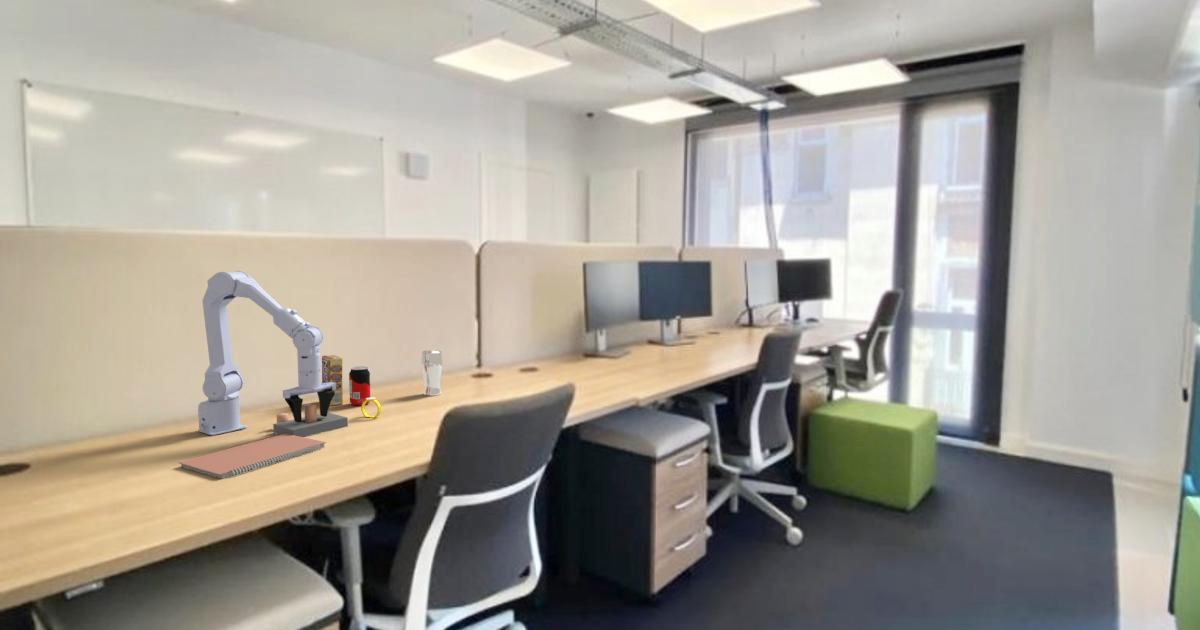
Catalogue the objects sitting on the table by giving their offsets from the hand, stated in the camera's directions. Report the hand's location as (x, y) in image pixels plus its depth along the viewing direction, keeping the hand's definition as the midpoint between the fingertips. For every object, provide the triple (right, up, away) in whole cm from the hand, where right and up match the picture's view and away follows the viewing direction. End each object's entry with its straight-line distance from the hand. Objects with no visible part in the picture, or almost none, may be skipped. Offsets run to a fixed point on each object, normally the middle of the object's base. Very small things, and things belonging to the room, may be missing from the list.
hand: (311, 418), depth 177 cm
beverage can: (+2, 0, +30) cm, 30 cm away
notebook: (-2, -6, -23) cm, 24 cm away
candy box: (-7, 0, +32) cm, 33 cm away
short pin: (-8, -3, +1) cm, 9 cm away
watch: (+12, -2, +14) cm, 18 cm away
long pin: (0, -3, 0) cm, 3 cm away
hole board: (0, -3, 0) cm, 3 cm away
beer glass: (+22, +1, +46) cm, 51 cm away
